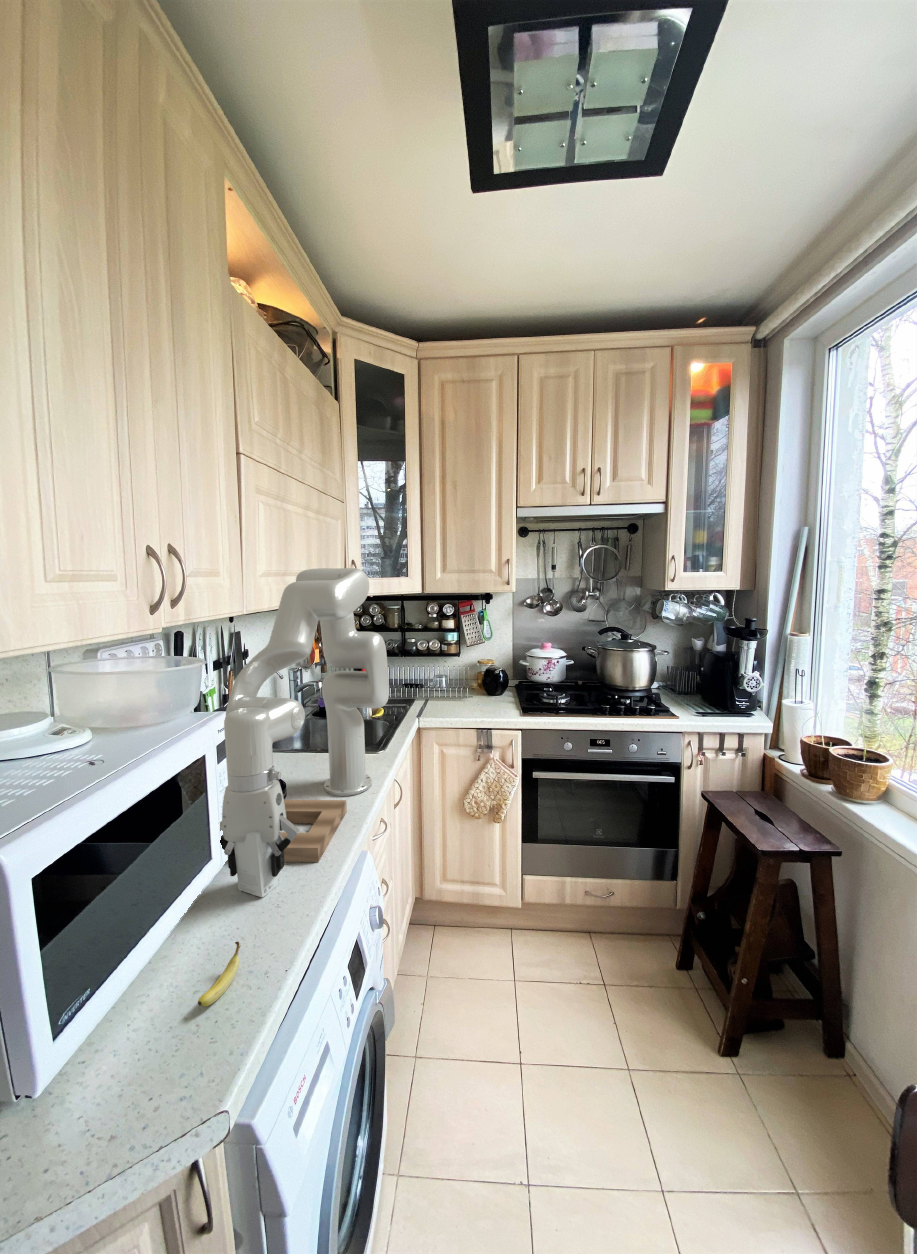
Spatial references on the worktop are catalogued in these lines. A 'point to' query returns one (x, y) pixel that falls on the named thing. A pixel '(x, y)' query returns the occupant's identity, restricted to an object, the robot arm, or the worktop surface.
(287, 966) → the worktop surface
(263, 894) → the skincare box
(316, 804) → the socket block
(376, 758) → the worktop surface
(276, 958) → the worktop surface
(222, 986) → the banana
